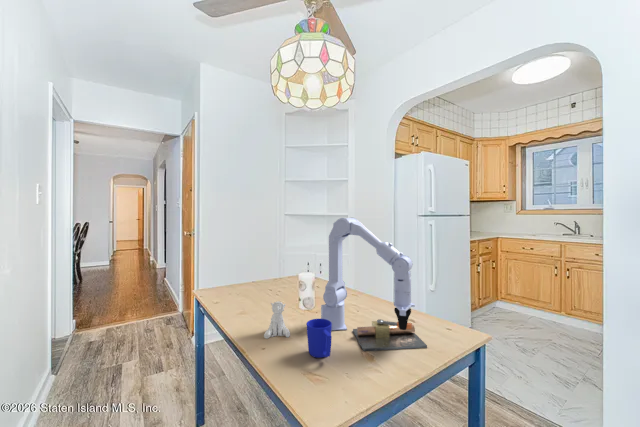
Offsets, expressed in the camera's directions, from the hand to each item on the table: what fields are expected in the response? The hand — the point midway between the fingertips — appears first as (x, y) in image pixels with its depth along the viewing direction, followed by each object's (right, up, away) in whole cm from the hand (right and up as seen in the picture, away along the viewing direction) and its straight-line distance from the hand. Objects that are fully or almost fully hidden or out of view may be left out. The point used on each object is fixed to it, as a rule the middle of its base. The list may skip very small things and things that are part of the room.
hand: (402, 329), depth 102 cm
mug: (-29, -5, -10) cm, 31 cm away
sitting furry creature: (-46, -5, +7) cm, 46 cm away
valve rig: (-5, -4, +2) cm, 7 cm away
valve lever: (-2, 0, +2) cm, 3 cm away
